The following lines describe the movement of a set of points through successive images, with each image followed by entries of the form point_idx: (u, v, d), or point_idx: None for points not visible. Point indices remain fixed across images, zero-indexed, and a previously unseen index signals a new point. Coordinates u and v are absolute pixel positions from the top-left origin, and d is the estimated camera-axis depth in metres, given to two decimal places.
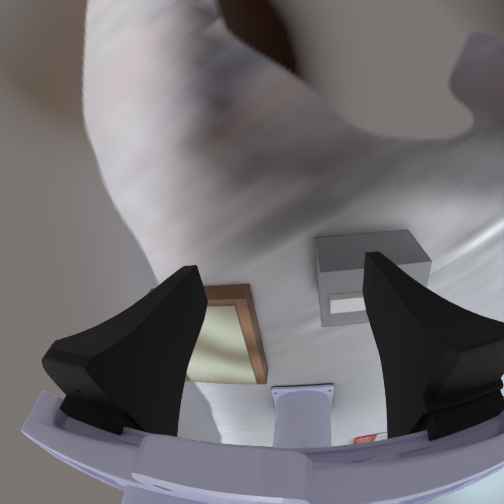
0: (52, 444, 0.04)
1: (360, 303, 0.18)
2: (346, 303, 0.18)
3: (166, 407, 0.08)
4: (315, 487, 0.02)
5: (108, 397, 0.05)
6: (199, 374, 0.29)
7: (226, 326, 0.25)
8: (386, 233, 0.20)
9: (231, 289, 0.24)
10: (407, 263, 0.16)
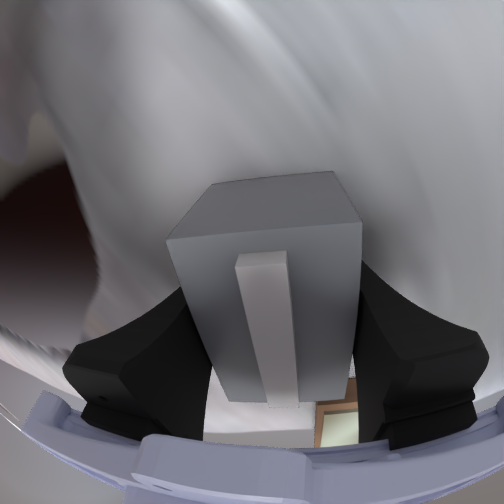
0: (52, 444, 0.04)
1: (277, 381, 0.09)
2: (276, 395, 0.09)
3: (193, 411, 0.08)
4: (315, 487, 0.02)
5: (140, 405, 0.05)
6: None
7: (357, 419, 0.16)
8: None
9: None
10: (185, 297, 0.08)
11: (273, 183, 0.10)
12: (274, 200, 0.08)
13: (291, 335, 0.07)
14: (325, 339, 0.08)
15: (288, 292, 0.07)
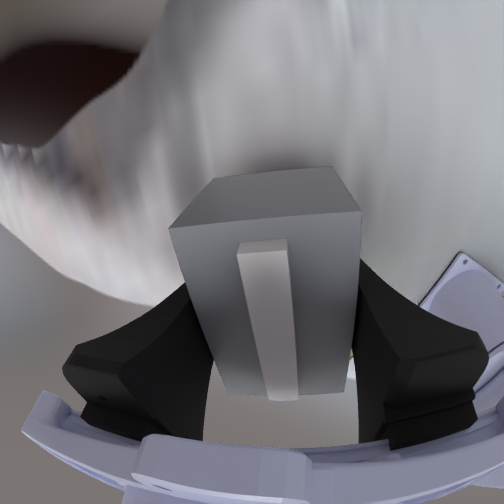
0: (52, 444, 0.04)
1: (277, 372, 0.09)
2: (276, 386, 0.09)
3: (193, 411, 0.08)
4: (315, 487, 0.02)
5: (140, 405, 0.05)
6: None
7: None
8: None
9: None
10: (187, 286, 0.08)
11: (274, 177, 0.10)
12: (275, 192, 0.09)
13: (291, 323, 0.08)
14: (325, 330, 0.08)
15: (288, 279, 0.07)
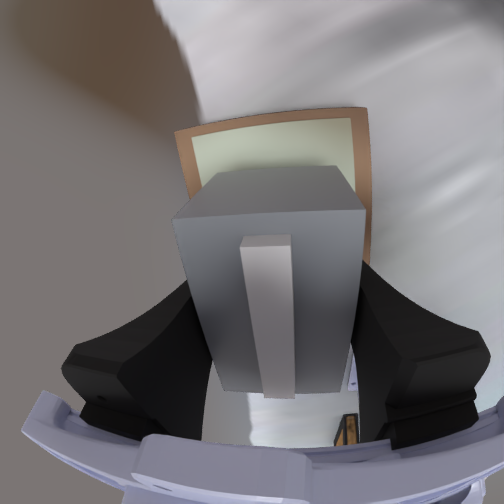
0: (52, 444, 0.04)
1: (274, 369, 0.09)
2: (272, 384, 0.09)
3: (192, 411, 0.08)
4: (315, 487, 0.02)
5: (139, 405, 0.05)
6: None
7: None
8: None
9: None
10: (187, 279, 0.08)
11: (278, 173, 0.10)
12: (280, 188, 0.08)
13: (292, 320, 0.08)
14: (324, 328, 0.08)
15: (291, 275, 0.07)
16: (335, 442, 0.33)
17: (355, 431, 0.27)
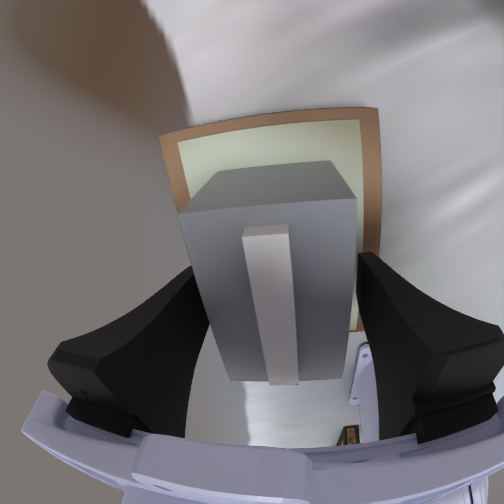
0: (52, 444, 0.04)
1: (278, 355, 0.09)
2: (276, 370, 0.10)
3: (174, 408, 0.08)
4: (315, 487, 0.02)
5: (117, 400, 0.05)
6: None
7: None
8: None
9: None
10: (193, 269, 0.09)
11: (275, 170, 0.11)
12: (277, 182, 0.09)
13: (292, 305, 0.08)
14: (323, 313, 0.09)
15: (290, 261, 0.07)
16: None
17: (355, 443, 0.25)
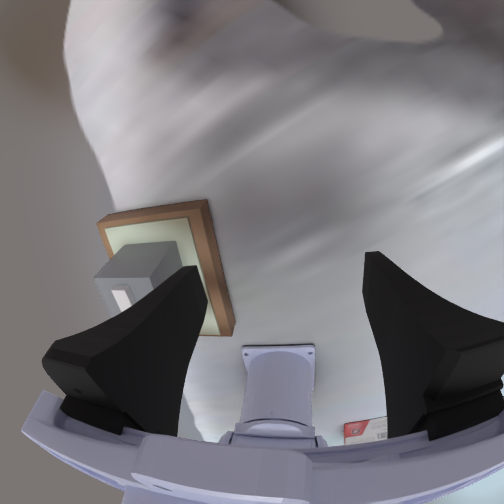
0: (52, 444, 0.04)
1: None
2: None
3: (166, 407, 0.08)
4: (315, 487, 0.02)
5: (108, 397, 0.05)
6: None
7: (179, 248, 0.21)
8: None
9: (187, 204, 0.21)
10: (103, 299, 0.19)
11: (144, 249, 0.21)
12: (135, 262, 0.19)
13: None
14: None
15: (129, 300, 0.17)
16: None
17: None
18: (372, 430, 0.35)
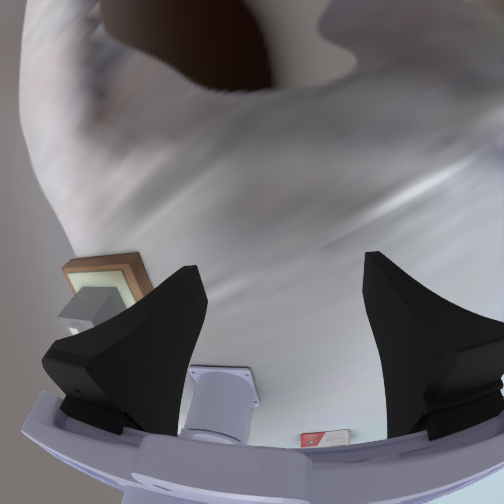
0: (52, 444, 0.04)
1: None
2: None
3: (166, 407, 0.08)
4: (315, 487, 0.02)
5: (108, 398, 0.05)
6: None
7: (120, 292, 0.25)
8: None
9: (123, 256, 0.25)
10: (66, 331, 0.22)
11: (94, 293, 0.24)
12: (85, 305, 0.22)
13: None
14: None
15: None
16: None
17: None
18: (327, 442, 0.38)
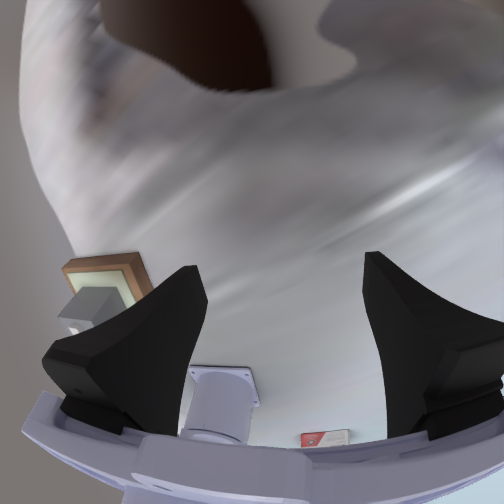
0: (52, 444, 0.04)
1: None
2: None
3: (166, 407, 0.08)
4: (315, 487, 0.02)
5: (108, 398, 0.05)
6: None
7: (120, 292, 0.25)
8: None
9: (123, 256, 0.25)
10: (66, 331, 0.22)
11: (94, 293, 0.24)
12: (85, 305, 0.22)
13: None
14: None
15: None
16: None
17: None
18: (327, 442, 0.38)
